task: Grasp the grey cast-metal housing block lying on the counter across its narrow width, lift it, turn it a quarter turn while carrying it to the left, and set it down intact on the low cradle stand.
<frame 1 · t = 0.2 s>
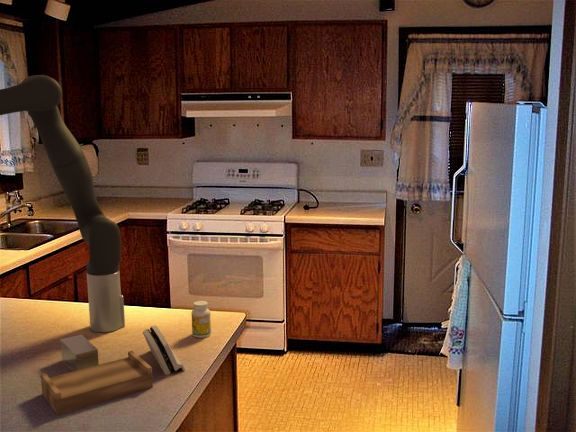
supplement bottle: (201, 335, 177), on the countertop
stand: (98, 390, 144), on the countertop
housing: (80, 366, 157), on the countertop
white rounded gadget: (162, 362, 159), on the countertop
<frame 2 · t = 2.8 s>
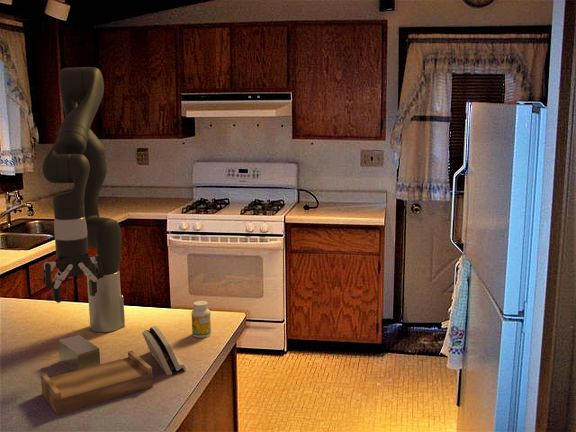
hand: (75, 298, 153), 18 cm above the countertop, tool pointing down, fingers open, 8 cm apart
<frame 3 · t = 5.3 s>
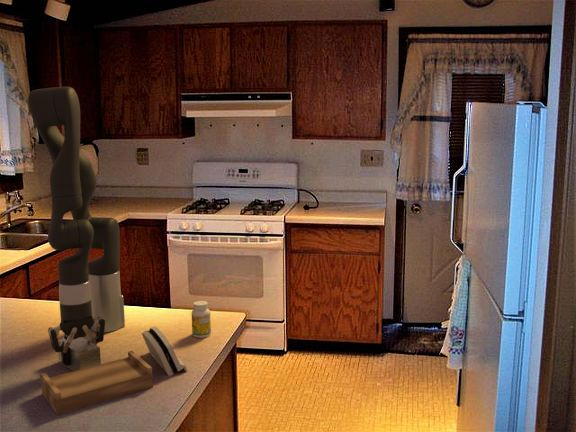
hand: (79, 361, 156), 1 cm above the countertop, tool pointing down, fingers closed on housing, 6 cm apart
housing: (79, 365, 157), on the countertop, touching gripper
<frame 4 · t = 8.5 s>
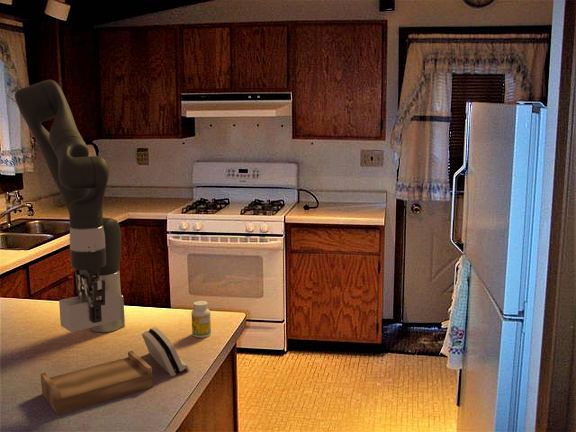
hand: (91, 317, 140), 18 cm above the countertop, tool pointing down, fingers closed on housing, 6 cm apart
housing: (91, 322, 140), point 17 cm above the countertop, touching gripper
when the fingers open (6 cm above the countertop, at t = 11.6 s): housing drops 1 cm, resting on stand.
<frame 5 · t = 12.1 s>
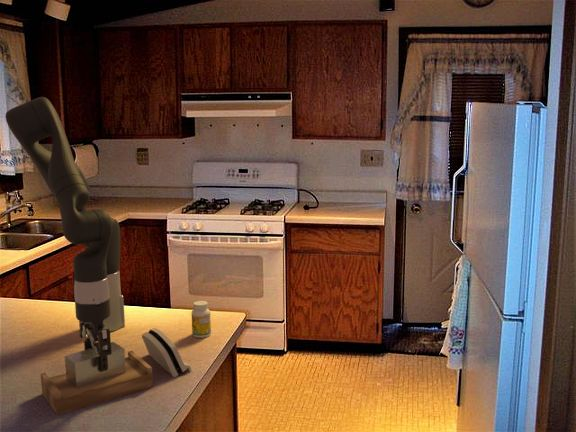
hand: (96, 364, 142), 7 cm above the countertop, tool pointing down, fingers open, 8 cm apart
housing: (96, 376, 143), point 3 cm above the countertop, touching stand
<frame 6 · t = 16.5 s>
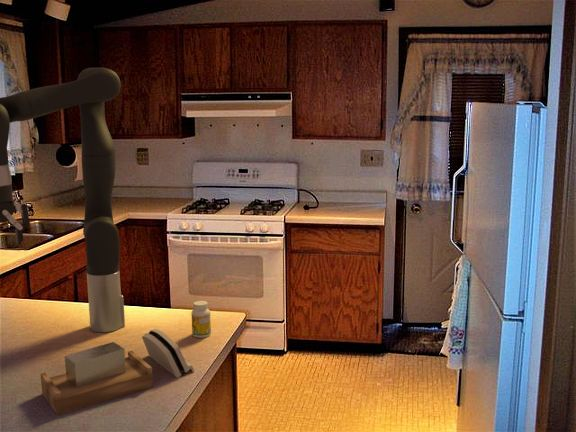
hand: (0, 246, 156), 30 cm above the countertop, tool pointing down, fingers open, 8 cm apart
at the end: housing inside the target area on the stand (0.2 cm from its centre), point 3.5 cm above the stand's base; the gripper is holding nothing; housing touching stand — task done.
